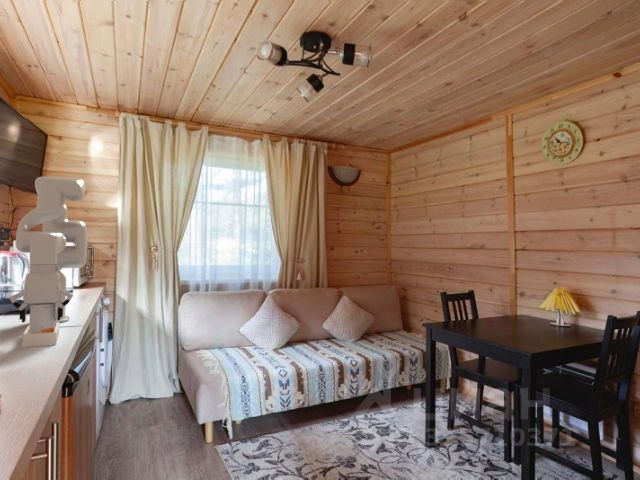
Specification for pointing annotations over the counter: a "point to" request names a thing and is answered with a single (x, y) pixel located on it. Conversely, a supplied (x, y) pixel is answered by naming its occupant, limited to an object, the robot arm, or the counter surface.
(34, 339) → the cream rectangular tray
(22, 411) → the counter surface
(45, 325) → the skincare box
